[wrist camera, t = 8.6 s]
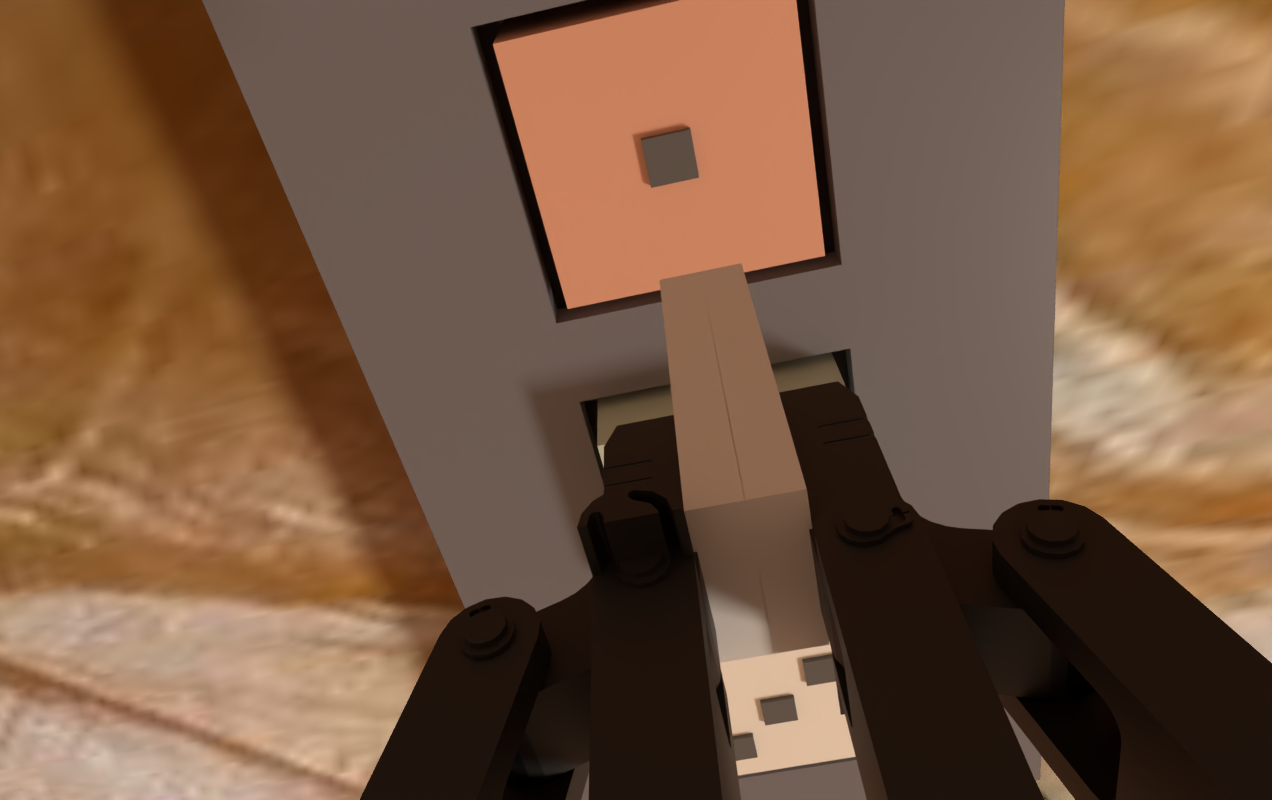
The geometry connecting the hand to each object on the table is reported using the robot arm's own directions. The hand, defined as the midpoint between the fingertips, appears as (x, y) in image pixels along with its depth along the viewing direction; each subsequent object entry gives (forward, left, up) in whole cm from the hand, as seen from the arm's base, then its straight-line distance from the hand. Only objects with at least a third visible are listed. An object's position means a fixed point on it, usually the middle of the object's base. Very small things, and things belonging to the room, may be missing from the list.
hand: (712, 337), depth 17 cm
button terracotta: (0, 0, -14) cm, 14 cm away
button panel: (0, +12, -16) cm, 20 cm away
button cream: (0, +24, -14) cm, 28 cm away
